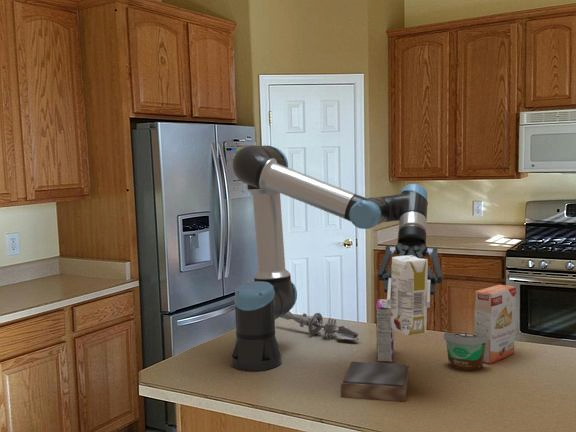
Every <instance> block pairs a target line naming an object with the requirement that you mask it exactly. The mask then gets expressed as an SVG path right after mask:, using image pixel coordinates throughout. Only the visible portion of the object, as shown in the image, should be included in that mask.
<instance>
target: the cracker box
mask: <svg viewBox="0 0 576 432" xmlns="http://www.w3.org/2000/svg"><path fill="white" fill-rule="evenodd" d="M516 294H517V287H516V286H513V285H505V284H496V285H494V286H489V287H486V288H482V289H478V290H475V291H474V328H473V329H474V330H473V331H474V332H473V335H479V336H482V335H485V334H486V335H487V337H488V341H487V342H486V343H485V350H484V359H483V363H486V364H490V365H491V364H493V363H495V362H497V361H501V360H503V359H504V358H506V357H510V356H511V355H512V356H513V355H514V354H515V335H516V334H515V333H516V332H515V331H516V299H517V298H516V297H517V295H516Z"/></svg>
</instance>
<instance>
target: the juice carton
mask: <svg viewBox="0 0 576 432" xmlns="http://www.w3.org/2000/svg"><path fill="white" fill-rule="evenodd" d="M428 264H429V262H428V258H424V259H420V258H417V257H415V256H412V255H408V256H398V255H397V256H391V266H392V272H391V328H392V329H393V330H394V331H395V332H398V333H400V334H402V335H404V336H413V335H420V334H425V333H427V326H428V325H427V324H428V323H427V322H428V321H427V318H428V307H427V282H428V266H429V265H428Z"/></svg>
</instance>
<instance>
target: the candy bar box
mask: <svg viewBox="0 0 576 432" xmlns="http://www.w3.org/2000/svg"><path fill="white" fill-rule="evenodd" d="M376 302H377V303H376V307H375V316H376V317H375V322H376V323H375V325H376V328H375V329H376V360H377V362H378V363H379V362H381V363H392V362H393V361H394V354H395V342H394V339H395V337H394V333H395V332H394V331H395V330H393V329H392V328H391V305H387V298H386V299H381V298H379V299H377V301H376Z"/></svg>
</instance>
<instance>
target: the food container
mask: <svg viewBox="0 0 576 432" xmlns="http://www.w3.org/2000/svg"><path fill="white" fill-rule="evenodd" d="M443 339H444V340H445V342H446V350H447V358H448V360H447V361H448V366H449V367H450V368H452V369H453V370H454V369H455V370H456V371H461V372H462V371H464V372H477V371H480V370H481V369H483V366H484V362H483V359H484V350H485V343H486V342H487V341H488V337H487V335H486V334H485V335H482V336H479V335H474V334H471V333H468V332H467V333H466V332H463V333H462V332H461V333H453V332H452V333H449V332H448V331H447V330H446V329H445V331H444V333H443Z"/></svg>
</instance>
